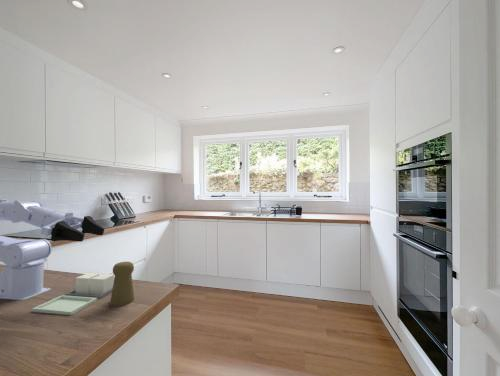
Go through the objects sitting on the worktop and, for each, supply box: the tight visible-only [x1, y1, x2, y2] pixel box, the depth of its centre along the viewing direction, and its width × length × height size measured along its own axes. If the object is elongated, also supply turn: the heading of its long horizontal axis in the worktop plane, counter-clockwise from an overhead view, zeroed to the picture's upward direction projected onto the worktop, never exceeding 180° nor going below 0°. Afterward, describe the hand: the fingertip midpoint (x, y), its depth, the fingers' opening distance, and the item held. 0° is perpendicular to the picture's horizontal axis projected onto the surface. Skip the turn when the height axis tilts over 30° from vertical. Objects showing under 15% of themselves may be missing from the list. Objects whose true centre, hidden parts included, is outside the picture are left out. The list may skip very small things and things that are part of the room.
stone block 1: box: [75, 272, 101, 294], centre depth 71 cm, size 4×4×4 cm
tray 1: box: [31, 294, 98, 316], centre depth 62 cm, size 11×8×1 cm
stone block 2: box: [90, 273, 115, 295], centre depth 71 cm, size 4×4×4 cm
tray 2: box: [64, 288, 113, 300], centre depth 71 cm, size 11×9×1 cm
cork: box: [109, 261, 135, 307], centre depth 65 cm, size 6×6×11 cm
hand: (93, 234), depth 68 cm, fingers open, 7 cm apart
